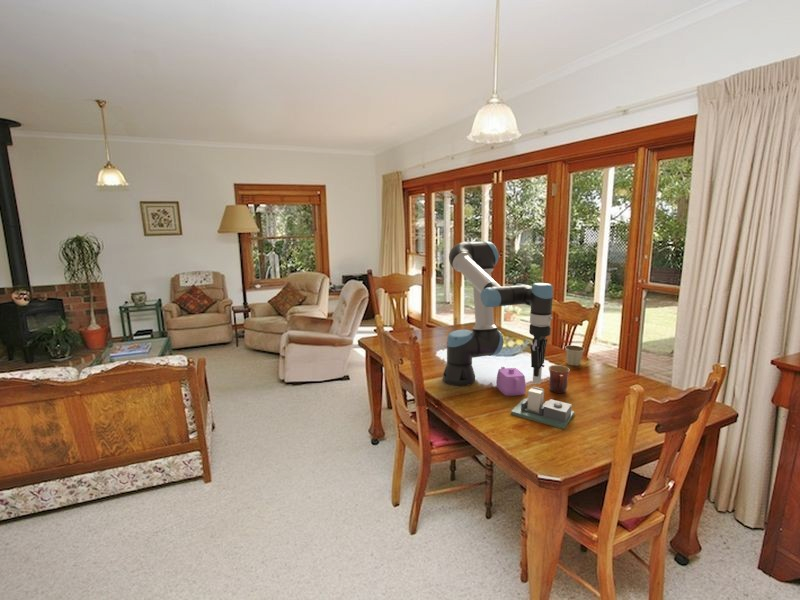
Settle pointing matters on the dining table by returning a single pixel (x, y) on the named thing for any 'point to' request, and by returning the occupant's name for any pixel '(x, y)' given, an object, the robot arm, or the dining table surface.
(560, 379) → the mug
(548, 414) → the board
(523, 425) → the dining table surface
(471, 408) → the dining table surface
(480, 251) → the robot arm
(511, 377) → the teapot
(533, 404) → the light grey block
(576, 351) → the flower pot
